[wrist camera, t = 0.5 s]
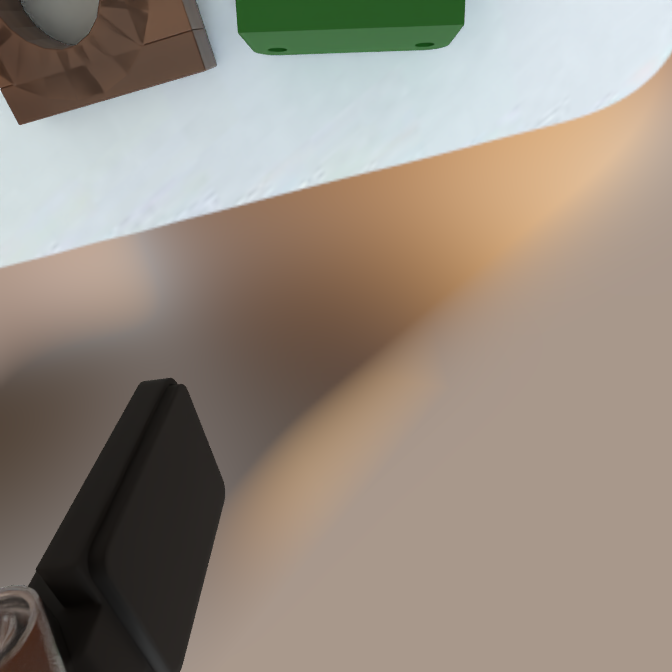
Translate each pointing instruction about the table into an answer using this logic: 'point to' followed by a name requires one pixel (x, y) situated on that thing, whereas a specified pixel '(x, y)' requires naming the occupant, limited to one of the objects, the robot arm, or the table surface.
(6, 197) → the table surface
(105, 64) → the pad
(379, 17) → the clamp
